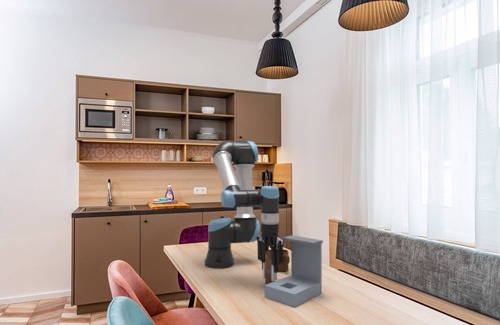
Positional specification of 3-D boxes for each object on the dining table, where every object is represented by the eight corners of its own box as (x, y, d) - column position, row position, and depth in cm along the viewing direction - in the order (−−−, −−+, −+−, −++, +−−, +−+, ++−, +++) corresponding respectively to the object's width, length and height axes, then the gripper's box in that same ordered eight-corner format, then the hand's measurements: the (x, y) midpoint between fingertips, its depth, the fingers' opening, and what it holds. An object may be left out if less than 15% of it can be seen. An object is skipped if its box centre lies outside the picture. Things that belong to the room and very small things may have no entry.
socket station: (263, 296, 131) (263, 241, 131) (291, 284, 144) (291, 235, 145) (295, 307, 120) (295, 248, 121) (322, 293, 134) (322, 240, 135)
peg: (263, 286, 142) (263, 250, 142) (269, 284, 145) (269, 249, 145) (270, 289, 139) (270, 252, 139) (276, 286, 142) (276, 250, 142)
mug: (296, 274, 159) (296, 253, 160) (281, 275, 157) (281, 255, 157) (283, 267, 171) (283, 248, 171) (270, 268, 168) (270, 249, 168)
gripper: (249, 221, 146) (248, 276, 145) (280, 226, 134) (280, 285, 133) (260, 220, 151) (260, 272, 151) (291, 224, 140) (291, 281, 139)
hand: (269, 278), depth 142 cm, fingers closed on peg, 4 cm apart
